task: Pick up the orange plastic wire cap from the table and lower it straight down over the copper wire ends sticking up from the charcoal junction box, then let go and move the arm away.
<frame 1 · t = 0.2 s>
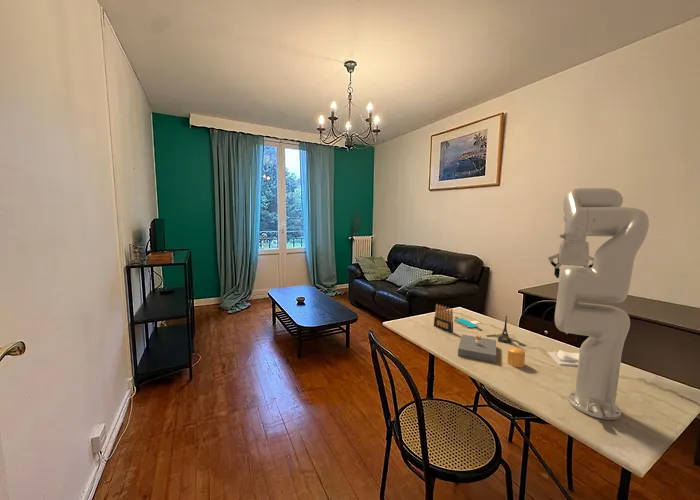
hand: (570, 278, 130), 31 cm above the table, tool pointing down, fingers open, 9 cm apart
eiffel tower figurine: (505, 342, 141), on the table
light switch: (570, 362, 123), on the table
wire cap: (515, 363, 120), on the table
ammunition clip: (443, 329, 155), on the table
junction box: (477, 350, 130), on the table
cyan flat board: (468, 324, 163), on the table
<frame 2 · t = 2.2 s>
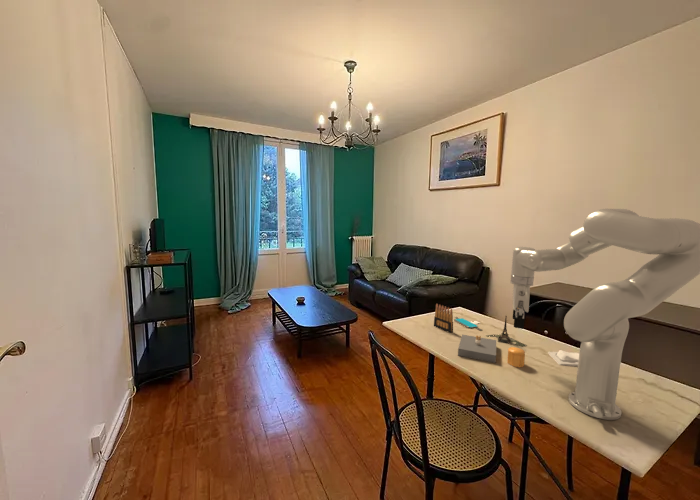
hand: (517, 323, 118), 16 cm above the table, tool pointing down, fingers open, 9 cm apart
nothing on the table moved.
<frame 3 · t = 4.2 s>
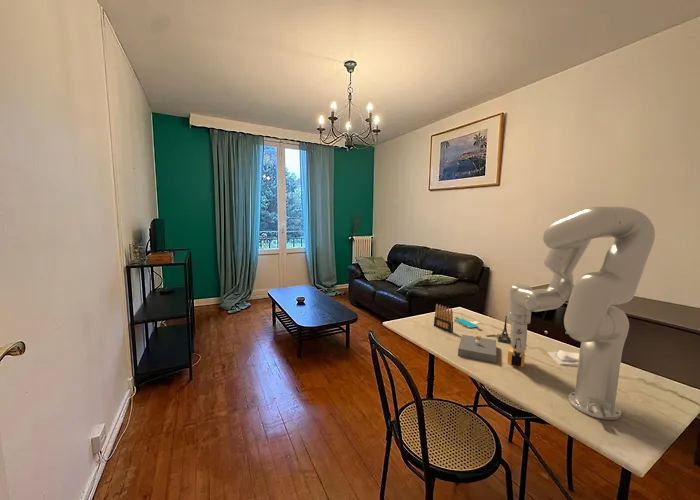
hand: (515, 361, 120), 1 cm above the table, tool pointing down, fingers closed on wire cap, 5 cm apart
wire cap: (515, 363, 120), on the table, touching gripper
everything else where it was.
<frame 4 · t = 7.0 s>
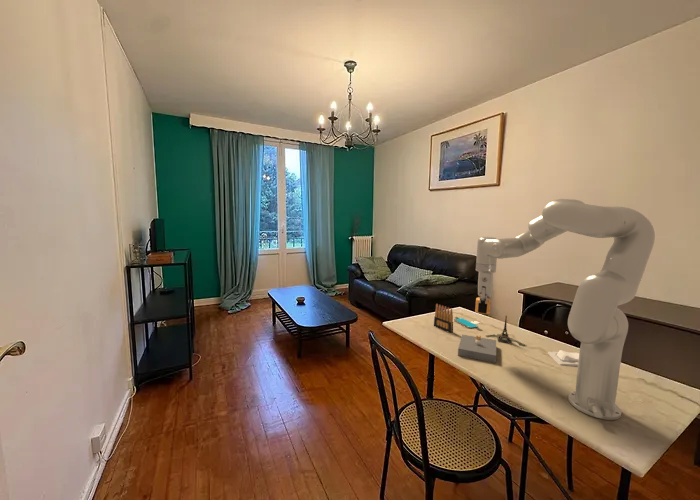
hand: (482, 310, 127), 18 cm above the table, tool pointing down, fingers closed on wire cap, 5 cm apart
wire cap: (482, 311, 127), point 17 cm above the table, touching gripper
everything else where it was.
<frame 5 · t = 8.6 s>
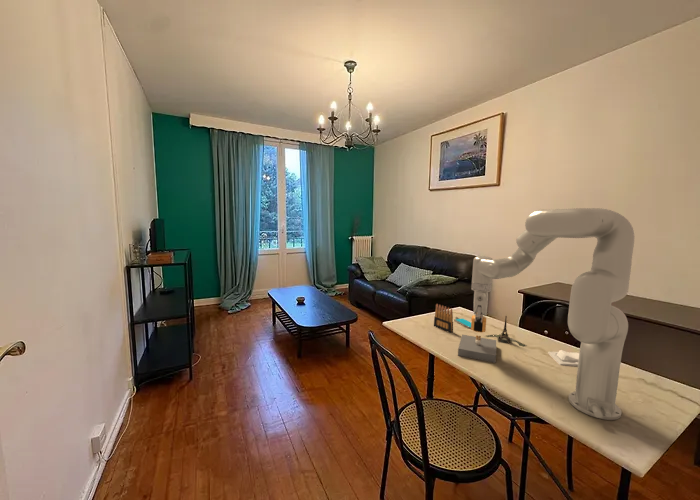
hand: (478, 328, 129), 10 cm above the table, tool pointing down, fingers closed on wire cap, 5 cm apart
wire cap: (478, 329, 129), point 9 cm above the table, touching gripper
everything else where it was.
when the fingers open (5 cm above the table, at t = 10.0 s): wire cap drops 1 cm, resting on junction box.
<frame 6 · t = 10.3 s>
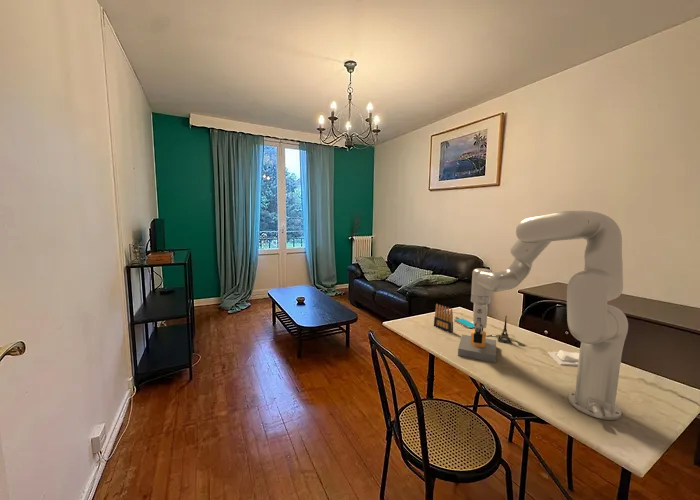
hand: (478, 338, 130), 6 cm above the table, tool pointing down, fingers open, 8 cm apart
wire cap: (477, 344, 130), point 3 cm above the table, touching junction box
everything else where it was.
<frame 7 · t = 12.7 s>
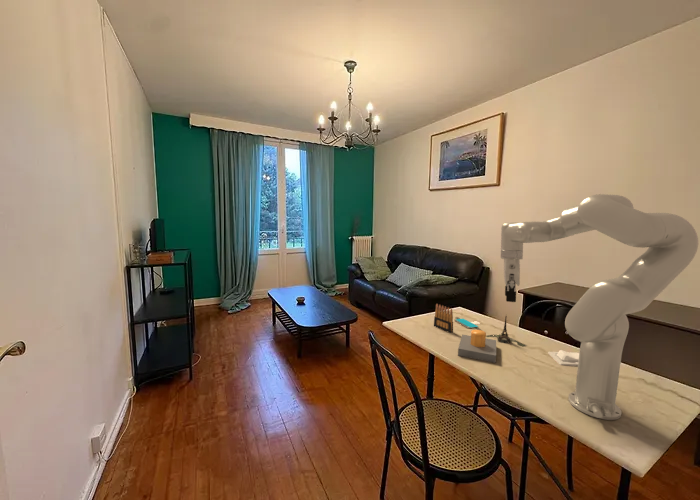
hand: (510, 298, 120), 25 cm above the table, tool pointing down, fingers open, 9 cm apart
nothing on the table moved.
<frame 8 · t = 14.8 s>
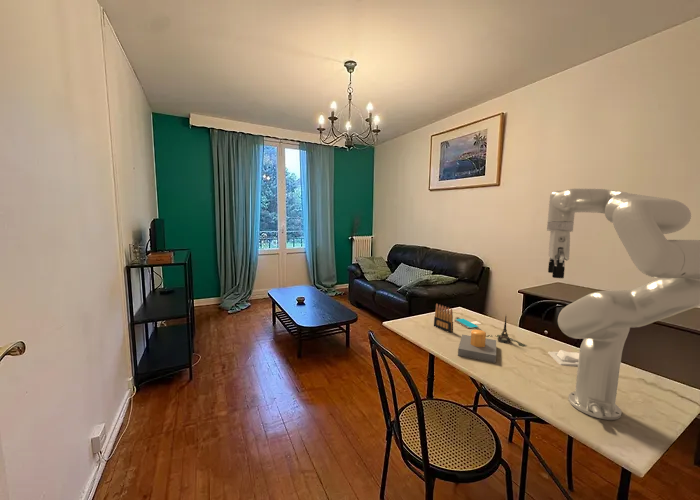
hand: (555, 275, 109), 36 cm above the table, tool pointing down, fingers open, 9 cm apart
nothing on the table moved.
at the end: wire cap 0.1 cm from the junction box (horizontally); wire cap point 3.0 cm above the table; wire cap tilted 0° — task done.
